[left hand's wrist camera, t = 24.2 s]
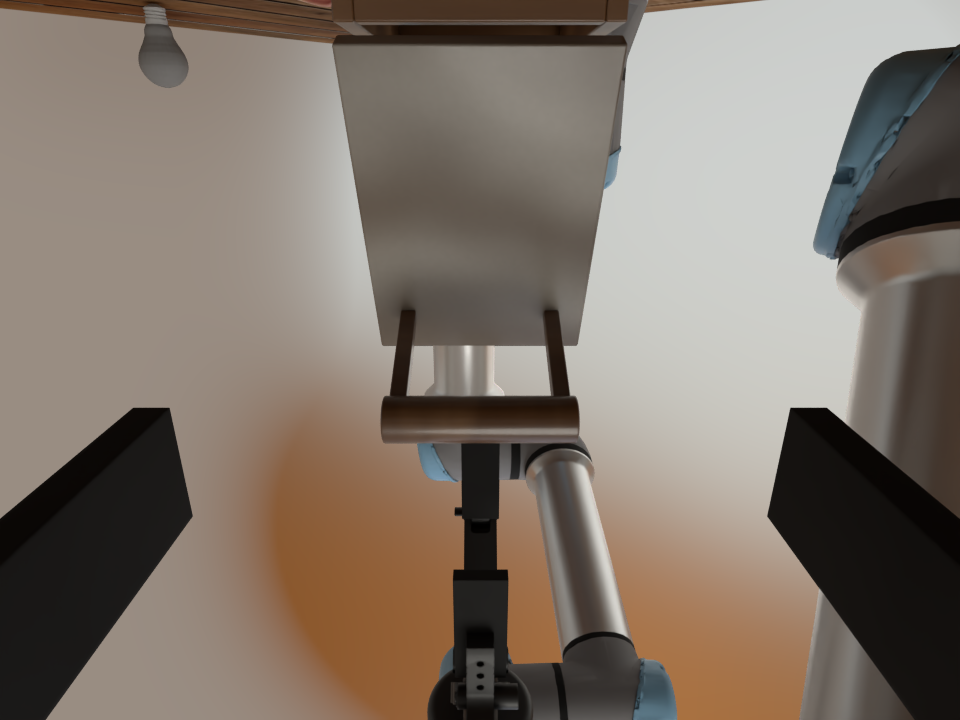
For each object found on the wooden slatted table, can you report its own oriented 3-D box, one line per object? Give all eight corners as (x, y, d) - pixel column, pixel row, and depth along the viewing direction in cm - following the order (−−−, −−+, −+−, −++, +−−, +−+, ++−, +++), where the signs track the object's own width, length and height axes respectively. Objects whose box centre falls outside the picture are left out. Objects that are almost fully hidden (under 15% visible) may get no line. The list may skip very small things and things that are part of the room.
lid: (575, 334, 31) (597, 468, 25) (383, 334, 31) (363, 468, 25) (624, 34, 20) (678, 149, 15) (335, 34, 20) (282, 150, 15)
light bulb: (168, 0, 77) (182, 86, 80) (185, 8, 82) (198, 88, 86) (119, -1, 76) (135, 86, 80) (139, 7, 82) (154, 88, 85)
